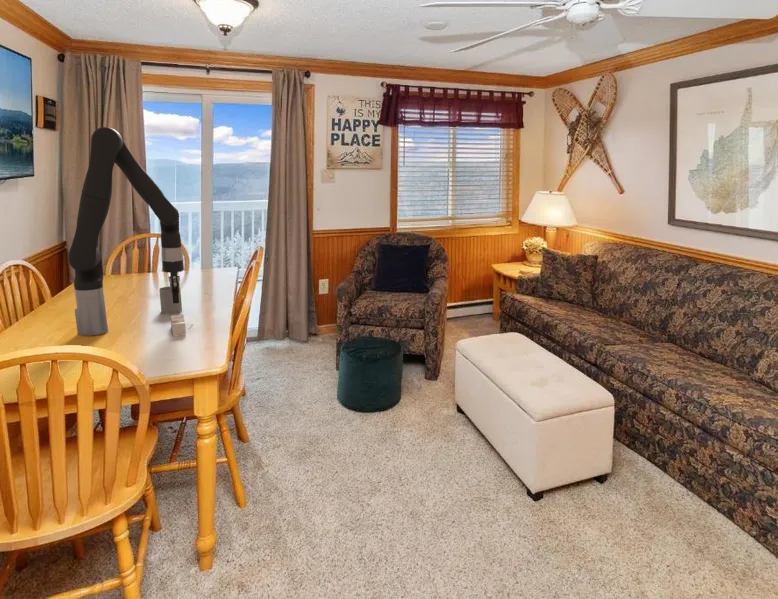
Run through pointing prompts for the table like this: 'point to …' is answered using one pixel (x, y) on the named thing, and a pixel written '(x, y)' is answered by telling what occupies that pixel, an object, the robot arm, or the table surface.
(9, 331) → the table surface
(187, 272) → the table surface
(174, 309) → the cup
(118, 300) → the table surface
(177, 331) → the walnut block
